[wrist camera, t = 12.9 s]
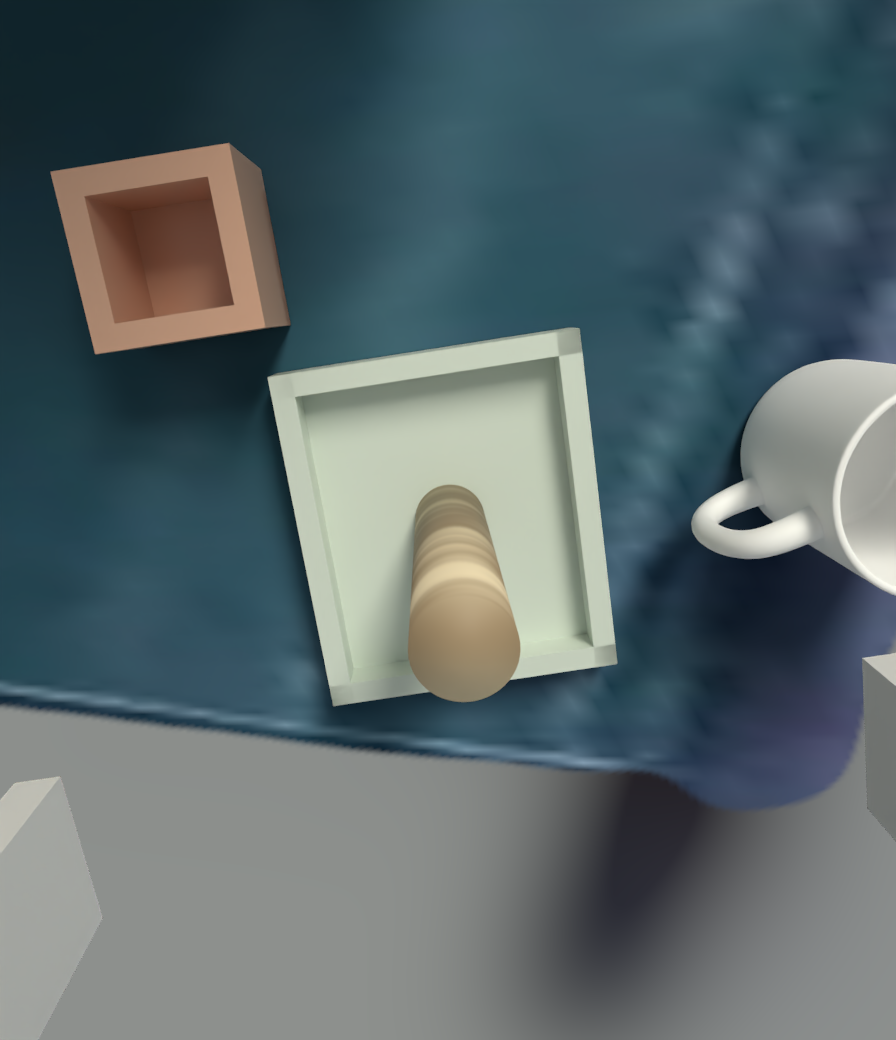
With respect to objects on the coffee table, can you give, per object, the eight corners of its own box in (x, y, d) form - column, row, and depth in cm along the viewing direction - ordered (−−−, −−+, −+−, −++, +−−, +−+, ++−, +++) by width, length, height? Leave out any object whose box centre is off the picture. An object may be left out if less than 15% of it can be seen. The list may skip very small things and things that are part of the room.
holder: (110, 193, 37) (50, 171, 31) (260, 169, 37) (229, 143, 31) (146, 347, 39) (95, 354, 33) (290, 324, 39) (265, 327, 33)
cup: (931, 493, 41) (1089, 551, 31) (693, 587, 42) (773, 672, 32) (884, 329, 39) (1036, 335, 29) (635, 430, 40) (702, 470, 30)
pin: (410, 490, 40) (399, 605, 24) (479, 479, 40) (512, 588, 24) (421, 556, 40) (417, 709, 25) (488, 546, 40) (527, 693, 25)
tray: (277, 373, 39) (267, 377, 37) (570, 327, 39) (579, 328, 36) (338, 683, 43) (333, 706, 40) (606, 643, 42) (617, 663, 40)
